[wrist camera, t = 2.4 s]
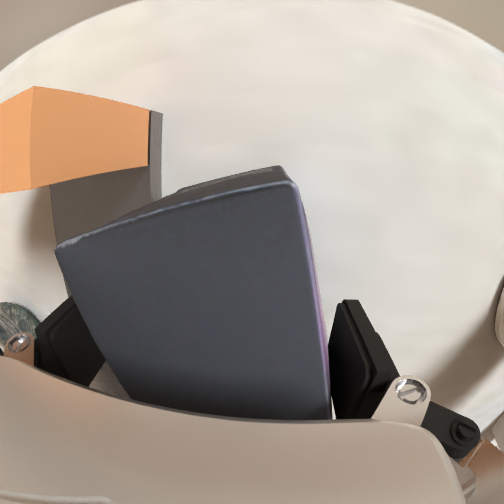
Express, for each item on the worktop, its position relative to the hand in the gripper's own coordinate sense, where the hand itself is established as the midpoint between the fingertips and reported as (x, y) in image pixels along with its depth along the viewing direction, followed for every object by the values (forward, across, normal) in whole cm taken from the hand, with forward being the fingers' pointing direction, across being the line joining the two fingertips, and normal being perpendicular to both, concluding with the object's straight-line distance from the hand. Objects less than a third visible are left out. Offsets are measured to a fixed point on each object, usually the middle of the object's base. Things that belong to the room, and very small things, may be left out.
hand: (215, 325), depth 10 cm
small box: (+7, -1, 0) cm, 7 cm away
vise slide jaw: (+5, +8, -7) cm, 12 cm away
